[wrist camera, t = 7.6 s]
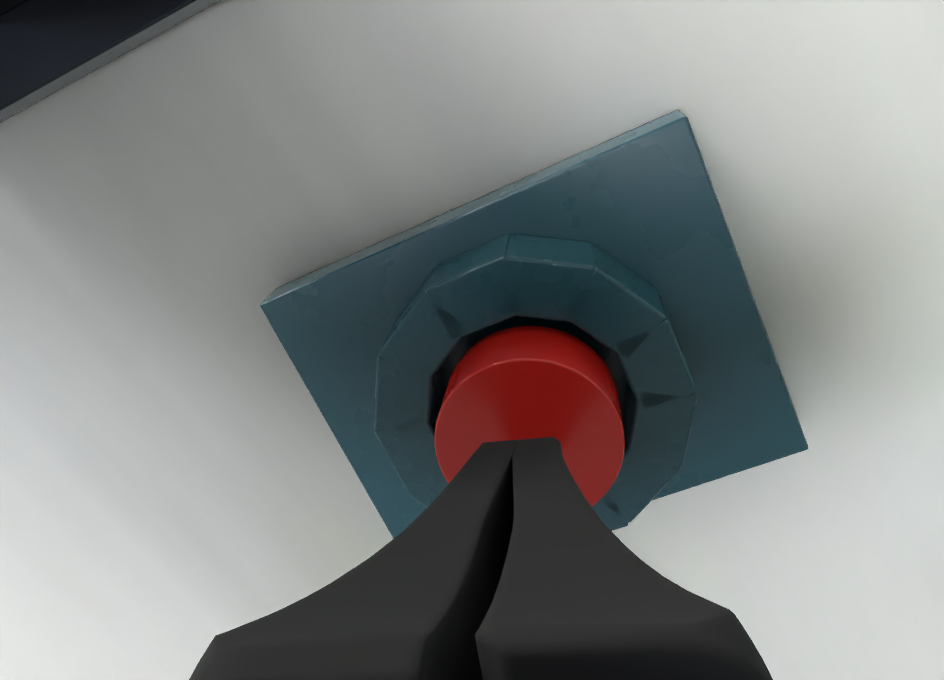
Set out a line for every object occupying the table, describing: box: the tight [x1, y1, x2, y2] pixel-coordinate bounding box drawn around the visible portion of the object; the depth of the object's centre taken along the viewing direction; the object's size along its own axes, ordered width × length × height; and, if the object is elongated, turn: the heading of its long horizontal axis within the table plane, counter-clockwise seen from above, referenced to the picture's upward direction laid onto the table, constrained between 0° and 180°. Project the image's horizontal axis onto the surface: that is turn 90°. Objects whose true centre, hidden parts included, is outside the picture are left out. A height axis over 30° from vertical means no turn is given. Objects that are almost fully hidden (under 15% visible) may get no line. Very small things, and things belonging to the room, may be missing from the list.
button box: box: [260, 110, 808, 538], centre depth 18 cm, size 10×8×3 cm
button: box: [434, 326, 625, 507], centre depth 16 cm, size 4×4×2 cm
